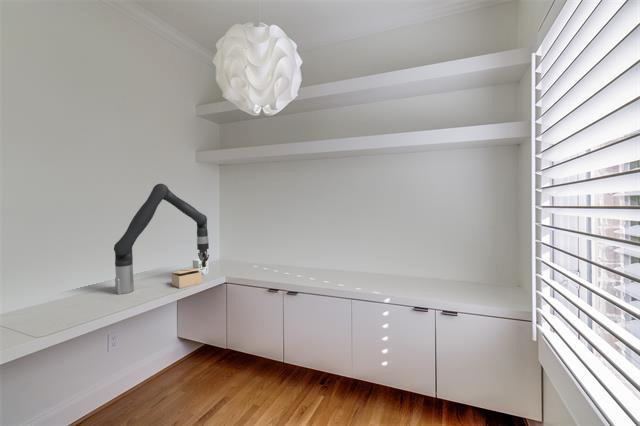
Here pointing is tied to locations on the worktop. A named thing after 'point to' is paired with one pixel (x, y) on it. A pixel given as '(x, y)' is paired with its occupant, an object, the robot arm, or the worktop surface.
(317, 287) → the worktop surface
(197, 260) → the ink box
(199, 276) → the carton
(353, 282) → the worktop surface
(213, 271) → the worktop surface
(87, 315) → the worktop surface
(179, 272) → the lid
